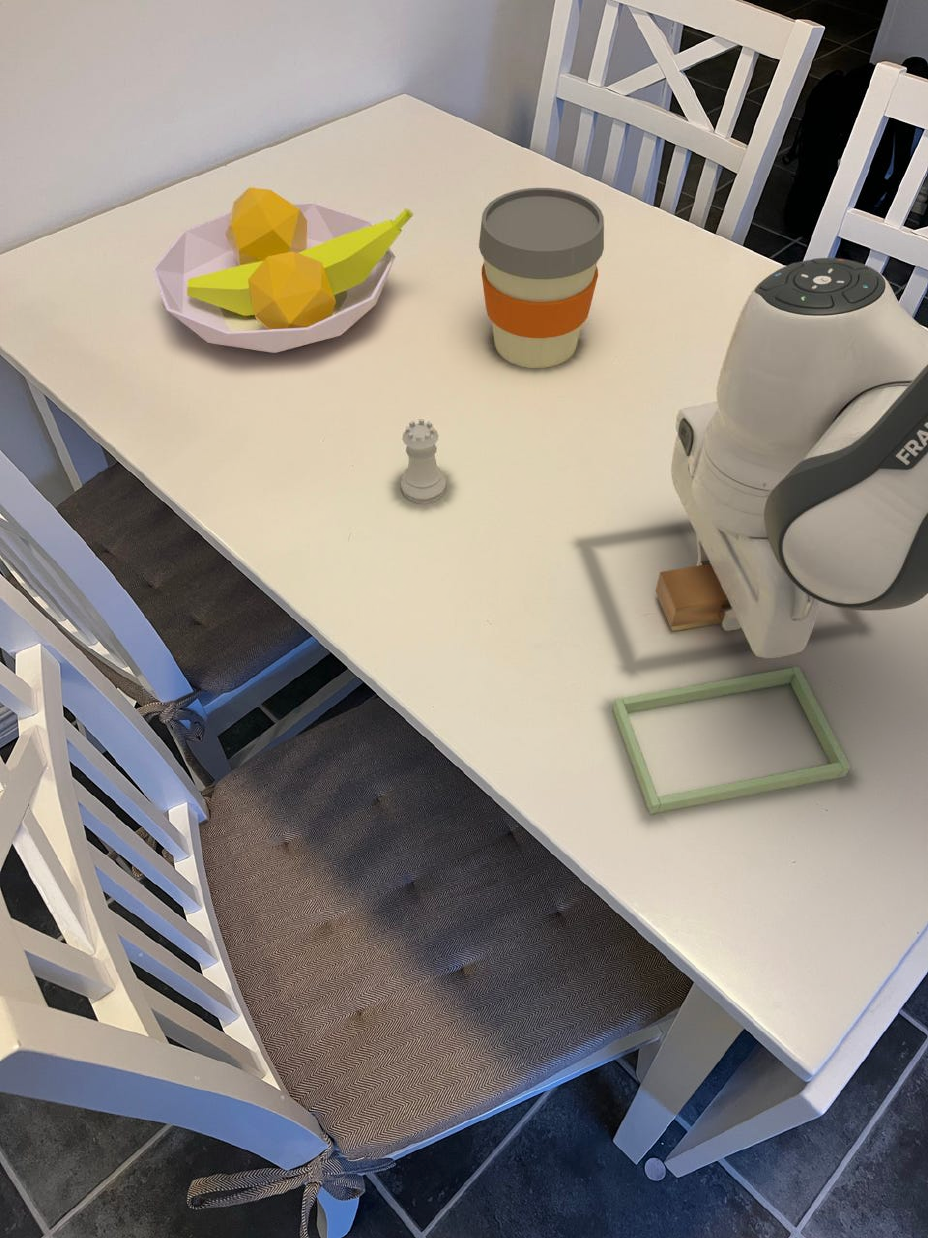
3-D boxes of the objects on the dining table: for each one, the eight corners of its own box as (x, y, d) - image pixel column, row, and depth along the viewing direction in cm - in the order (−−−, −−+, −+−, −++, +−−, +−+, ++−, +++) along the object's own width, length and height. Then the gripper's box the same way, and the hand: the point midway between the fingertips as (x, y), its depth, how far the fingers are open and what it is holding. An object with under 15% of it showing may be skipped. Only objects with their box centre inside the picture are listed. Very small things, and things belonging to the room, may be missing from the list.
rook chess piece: (452, 481, 88) (450, 416, 82) (439, 513, 86) (436, 449, 79) (409, 473, 89) (403, 408, 83) (394, 504, 86) (388, 440, 80)
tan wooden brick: (762, 581, 79) (773, 552, 76) (781, 616, 77) (793, 588, 74) (653, 599, 78) (659, 571, 75) (668, 635, 76) (676, 608, 73)
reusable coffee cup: (513, 302, 106) (517, 175, 94) (610, 334, 102) (628, 205, 90) (458, 360, 100) (455, 230, 88) (559, 396, 96) (571, 266, 84)
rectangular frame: (792, 680, 74) (798, 666, 72) (842, 780, 68) (851, 767, 66) (611, 712, 72) (614, 699, 70) (648, 818, 66) (652, 805, 65)
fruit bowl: (129, 363, 100) (95, 269, 91) (226, 235, 116) (205, 145, 107) (372, 400, 96) (361, 305, 87) (437, 261, 112) (433, 169, 103)
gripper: (864, 578, 60) (805, 693, 71) (746, 385, 72) (711, 509, 83) (773, 593, 59) (728, 707, 70) (670, 396, 71) (645, 519, 82)
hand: (718, 598), depth 77 cm, fingers closed on tan wooden brick, 4 cm apart
